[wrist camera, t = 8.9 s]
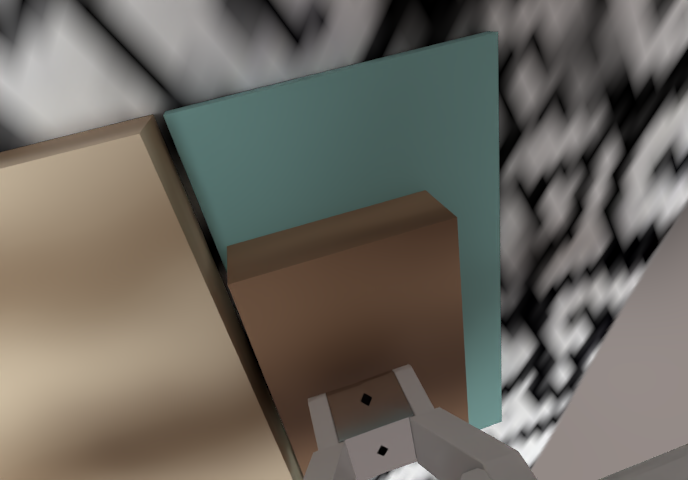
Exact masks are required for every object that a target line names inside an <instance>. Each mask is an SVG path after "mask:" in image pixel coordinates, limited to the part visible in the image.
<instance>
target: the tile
mask: <svg viewBox="0 0 688 480" xmlns="http://www.w3.org/2000/svg"><path fill="white" fill-rule="evenodd" d="M227 283H228V287H229V290H230V292H231V295H232V297H233V300H234V302H235V305H236V307H237V310H238V312H239V315H240V317H241V320H242V322H243V325H244V327H245V330H246V332H247V335H248V337H249V340H250V342H251V345H252V348H253V350H254V353H255V355H256V358H257V360H258V363H259V365H260V368H261V370H262V373H263V375H264V378H265V380H266V383H267V385H268V388H269V390H270V393H271V395H272V398H273V400H274V403H275V405H276V408H277V410H278V413H279V415H280V418H281V420H282V423H283V425H284V428H285V430H286V433H287V435H288V438H289V440H290V443H291V445H292V448H293V450H294V453H295V456H296V458H297V461H298V463H299V466H300V468H301V471H302V473H303V476H304V475H305V473H306V470H307V468H308V465H309V462H310V460H311V457H312V454H313V452H316V451H318V446H317V442H316V437H315V433H314V428H313V424H312V419H311V415H310V410H309V405H308V398H311V397H314V396H317V395H320V394H323V393H326V392H329V391H332V390H335V389H338V388H341V387H345V386H348V385H351V384H354V383H357V382H359V381H362V380H364V379H367V378H370V377H373V376H376V375H378V374H381V373H384V372H387V371H390V370H393V369H396V368H399V367H402V366H405V365H407V364H409V365H410V366H412V368H413V370H414V372H415V374H416V376H417V377H418V379H419V381H420V383H421V385H422V387H423V388H424V390H425V392H426V394H427V396H428V398H429V400H430V401H431V403H432V405H433V407H434V409H435V408H438V407H440V408H442V409H444V410H446V411H447V412H449V413H451V414H453V415H454V416H456V417H458V418H460V419H462V420H463V421H465V422H467V423H469V418H468V400H467V383H466V365H465V347H464V329H463V311H462V294H461V276H460V258H459V240H458V222H457V217H456V216H455V215H454V214H453V213H452V212H451V211H449V210H448V209H447V208H446V207H445V206H443V205H442V204H441V203H440V202H439V201H438V200H436V199H435V198H434V197H433V196H432V195H431V194H429V193H428V192H427V191H426V190H424V191H421V192H417V193H413V194H410V195H406V196H403V197H399V198H396V199H392V200H389V201H385V202H382V203H378V204H375V205H371V206H367V207H364V208H360V209H357V210H353V211H350V212H346V213H343V214H339V215H336V216H332V217H329V218H325V219H322V220H318V221H314V222H311V223H307V224H304V225H300V226H297V227H293V228H290V229H286V230H283V231H279V232H276V233H272V234H268V235H265V236H261V237H258V238H254V239H251V240H247V241H244V242H240V243H237V244H233V245H230V246H227Z"/></svg>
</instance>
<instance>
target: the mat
mask: <svg viewBox="0 0 688 480" xmlns="http://www.w3.org/2000/svg"><path fill="white" fill-rule="evenodd" d="M163 116H164V119H165V121H166V124H167V126H168V129H169V131H170V134H171V136H172V139H173V141H174V144H175V146H176V148H177V151H178V153H179V156H180V158H181V161H182V163H183V166H184V168H185V171H186V173H187V176H188V178H189V181H190V183H191V186H192V188H193V190H194V193H195V195H196V198H197V200H198V203H199V205H200V208H201V210H202V213H203V215H204V218H205V220H206V223H207V225H208V227H209V230H210V232H211V235H212V237H213V240H214V242H215V245H216V247H217V250H218V252H219V255H220V257H221V260H222V262H223V264H224V267H225V269H226V272H227V246H230V245H233V244H237V243H240V242H244V241H247V240H251V239H254V238H258V237H261V236H265V235H268V234H272V233H276V232H279V231H283V230H286V229H290V228H293V227H297V226H300V225H304V224H307V223H311V222H314V221H318V220H322V219H325V218H329V217H332V216H336V215H339V214H343V213H346V212H350V211H353V210H357V209H360V208H364V207H367V206H371V205H375V204H378V203H382V202H385V201H389V200H392V199H396V198H399V197H403V196H406V195H410V194H413V193H417V192H421V191H424V190H426V191H427V192H428V193H429V194H431V195H432V196H433V197H434V198H435V199H436V200H438V201H439V202H440V203H441V204H442V205H443V206H445V207H446V208H447V209H448V210H449V211H451V212H452V213H453V214H454V215H455V216H456V217H457V222H458V240H459V258H460V276H461V294H462V311H463V329H464V347H465V365H466V383H467V400H468V418H469V424H471V425H472V426H474V427H476V428H478V429H479V430H480V429H483V428H485V427H488V426H491V425H493V424H496V423H499V422H502V407H501V301H500V194H499V88H498V32H490V31H487V32H483V33H479V34H475V35H471V36H467V37H463V38H459V39H455V40H451V41H447V42H443V43H439V44H435V45H431V46H427V47H423V48H419V49H415V50H411V51H407V52H402V53H398V54H394V55H390V56H386V57H382V58H378V59H374V60H370V61H366V62H362V63H358V64H354V65H350V66H346V67H342V68H338V69H334V70H330V71H326V72H322V73H318V74H314V75H310V76H306V77H302V78H298V79H294V80H290V81H286V82H282V83H278V84H274V85H269V86H265V87H261V88H257V89H253V90H249V91H245V92H241V93H237V94H233V95H229V96H225V97H221V98H217V99H213V100H209V101H205V102H201V103H197V104H193V105H189V106H185V107H181V108H177V109H173V110H169V111H165V113H164V115H163Z"/></svg>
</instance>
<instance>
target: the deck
mask: <svg viewBox="0 0 688 480" xmlns="http://www.w3.org/2000/svg"><path fill="white" fill-rule="evenodd" d="M303 478H304V476H303V473H302V471H301V468H300V466H299V463H298V461H297V459H296V456H295V454H294V451H293V449H292V446H291V444H290V442H289V439H288V437H287V434H286V432H285V430H284V427H283V425H282V422H281V420H280V418H279V415H278V413H277V410H276V408H275V406H274V403H273V401H272V398H271V396H270V394H269V391H268V389H267V386H266V384H265V382H264V379H263V377H262V374H261V372H260V370H259V367H258V365H257V362H256V360H255V358H254V355H253V353H252V350H251V348H250V346H249V343H248V341H247V338H246V336H245V334H244V331H243V329H242V326H241V324H240V322H239V319H238V317H237V314H236V312H235V310H234V307H233V305H232V302H231V300H230V298H229V295H228V293H227V290H226V288H225V286H224V283H223V281H222V278H221V276H220V274H219V271H218V269H217V266H216V264H215V262H214V259H213V257H212V254H211V252H210V249H209V247H208V245H207V242H206V240H205V237H204V235H203V233H202V230H201V228H200V225H199V223H198V221H197V218H196V216H195V213H194V211H193V209H192V206H191V204H190V201H189V199H188V197H187V194H186V192H185V189H184V187H183V185H182V182H181V180H180V177H179V175H178V173H177V170H176V168H175V165H174V163H173V161H172V158H171V156H170V153H169V151H168V149H167V146H166V144H165V141H164V139H163V137H162V134H161V132H160V129H159V127H158V125H157V122H156V120H155V117H154V115H149V116H145V117H141V118H137V119H132V120H128V121H124V122H120V123H116V124H112V125H108V126H104V127H100V128H96V129H92V130H88V131H84V132H80V133H76V134H72V135H68V136H64V137H60V138H56V139H52V140H48V141H44V142H40V143H36V144H32V145H28V146H24V147H20V148H16V149H12V150H8V151H4V152H0V480H303Z"/></svg>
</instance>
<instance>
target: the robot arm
mask: <svg viewBox="0 0 688 480" xmlns="http://www.w3.org/2000/svg"><path fill="white" fill-rule="evenodd" d="M308 405H309V410H310V415H311V419H312V424H313V428H314V433H315V437H316V442H317V446H318V451H316V452H313V454H312V457H311V460H310V462H309V465H308V468H307V470H306V473H305V475H304V478H303V480H368V479H370V478H373V477H375V476H378V475H380V474H382V473H385V472H387V471H390V470H393V469H396V468H399V467H402V466H405V465H408V464H411V463H414V462H417V461H418V463H419V464H420V465H421V466H422V467H424V468H425V469H426V470H427V471H429V472H430V473H431V474H432V475H434V476H435V477H436V478H437V479H439V480H537V478H536V477H535V475H534V474H533V472H532V471H531V469H530V468H529V466H528V465H527V463H526V462H525V461H524V459H523V458H522V456H521V455H520V453H519V452H518V451H517V450H515V449H513V448H511V447H510V446H508V445H506V444H504V443H503V442H501V441H499V440H497V439H495V438H494V437H492V436H490V435H488V434H487V433H485V432H483V431H481V430H479V429H478V428H476V427H474V426H472V425H471V424H469V423H467V422H465V421H463V420H462V419H460V418H458V417H456V416H454V415H453V414H451V413H449V412H447V411H446V410H444V409H442V408H440V407H438V408H435V409H434V407H433V405H432V403H431V401H430V400H429V398H428V396H427V394H426V392H425V390H424V388H423V387H422V385H421V383H420V381H419V379H418V377H417V376H416V374H415V372H414V370H413V368H412V366H410V365H409V364H407V365H405V366H402V367H399V368H396V369H393V370H390V371H387V372H384V373H381V374H378V375H376V376H373V377H370V378H367V379H364V380H362V381H359V382H357V383H354V384H351V385H348V386H345V387H341V388H338V389H335V390H332V391H329V392H326V393H323V394H320V395H317V396H314V397H311V398H308ZM599 480H688V444H686V445H683V446H681V447H679V448H676V449H673V450H671V451H669V452H666V453H664V454H661V455H659V456H656V457H654V458H651V459H649V460H646V461H644V462H641V463H639V464H636V465H634V466H632V467H629V468H626V469H624V470H621V471H619V472H616V473H614V474H611V475H609V476H607V477H604V478H601V479H599Z"/></svg>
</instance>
